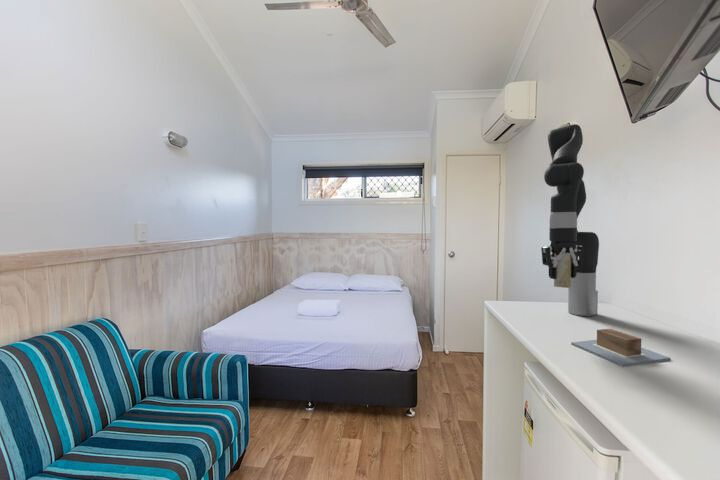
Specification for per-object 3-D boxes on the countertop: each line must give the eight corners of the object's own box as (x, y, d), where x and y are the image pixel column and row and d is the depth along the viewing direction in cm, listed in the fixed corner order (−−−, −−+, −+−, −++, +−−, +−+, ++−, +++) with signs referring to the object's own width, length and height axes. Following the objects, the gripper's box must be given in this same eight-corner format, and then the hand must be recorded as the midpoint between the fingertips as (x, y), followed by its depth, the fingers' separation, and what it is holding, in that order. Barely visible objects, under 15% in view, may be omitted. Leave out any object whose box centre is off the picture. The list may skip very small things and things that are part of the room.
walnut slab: (610, 343, 100) (610, 328, 100) (641, 354, 91) (641, 338, 91) (596, 344, 99) (596, 329, 99) (626, 356, 90) (626, 340, 90)
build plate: (614, 339, 105) (614, 337, 105) (670, 359, 89) (670, 357, 89) (571, 344, 101) (571, 342, 101) (621, 366, 86) (621, 363, 86)
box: (569, 288, 103) (569, 253, 103) (553, 287, 106) (553, 252, 105) (571, 285, 107) (571, 251, 107) (555, 284, 110) (556, 251, 109)
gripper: (572, 225, 110) (572, 275, 111) (534, 226, 108) (534, 277, 109) (592, 226, 103) (591, 278, 104) (552, 227, 101) (551, 281, 101)
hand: (562, 277), depth 106 cm, fingers closed on box, 6 cm apart
